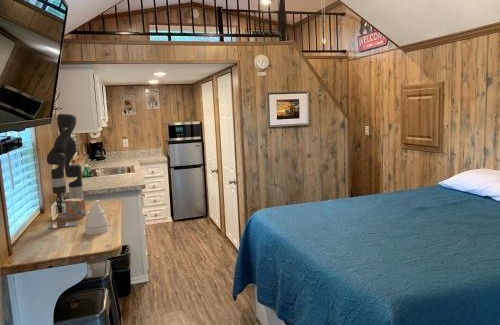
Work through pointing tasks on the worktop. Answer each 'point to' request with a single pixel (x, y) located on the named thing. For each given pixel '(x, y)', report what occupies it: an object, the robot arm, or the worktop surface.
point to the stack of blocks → (74, 208)
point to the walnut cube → (61, 220)
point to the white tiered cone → (96, 220)
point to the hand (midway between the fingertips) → (61, 211)
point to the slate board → (69, 224)
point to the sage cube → (62, 209)
